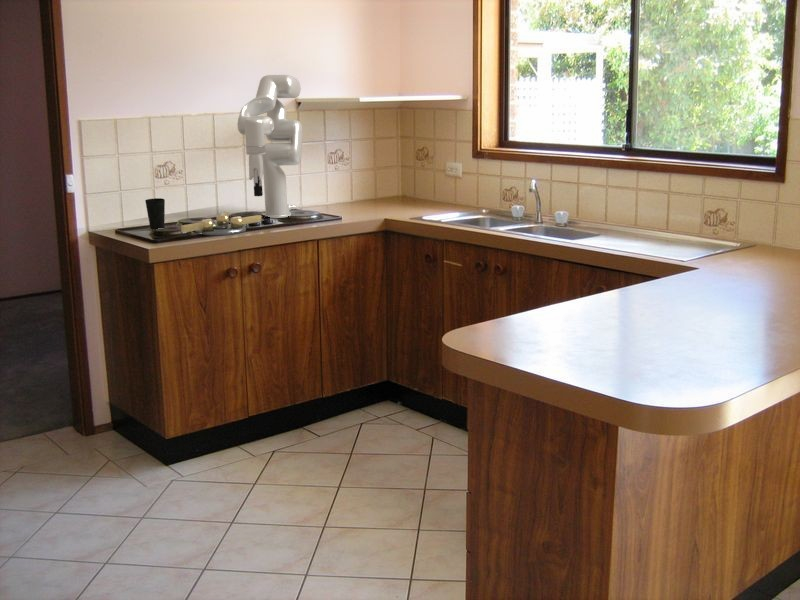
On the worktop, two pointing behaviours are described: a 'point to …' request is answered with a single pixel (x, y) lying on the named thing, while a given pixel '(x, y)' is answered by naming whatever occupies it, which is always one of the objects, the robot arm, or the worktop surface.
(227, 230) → the tribrach plate
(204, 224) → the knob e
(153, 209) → the cup
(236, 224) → the brass lever handle
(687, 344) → the worktop surface
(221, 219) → the knob
